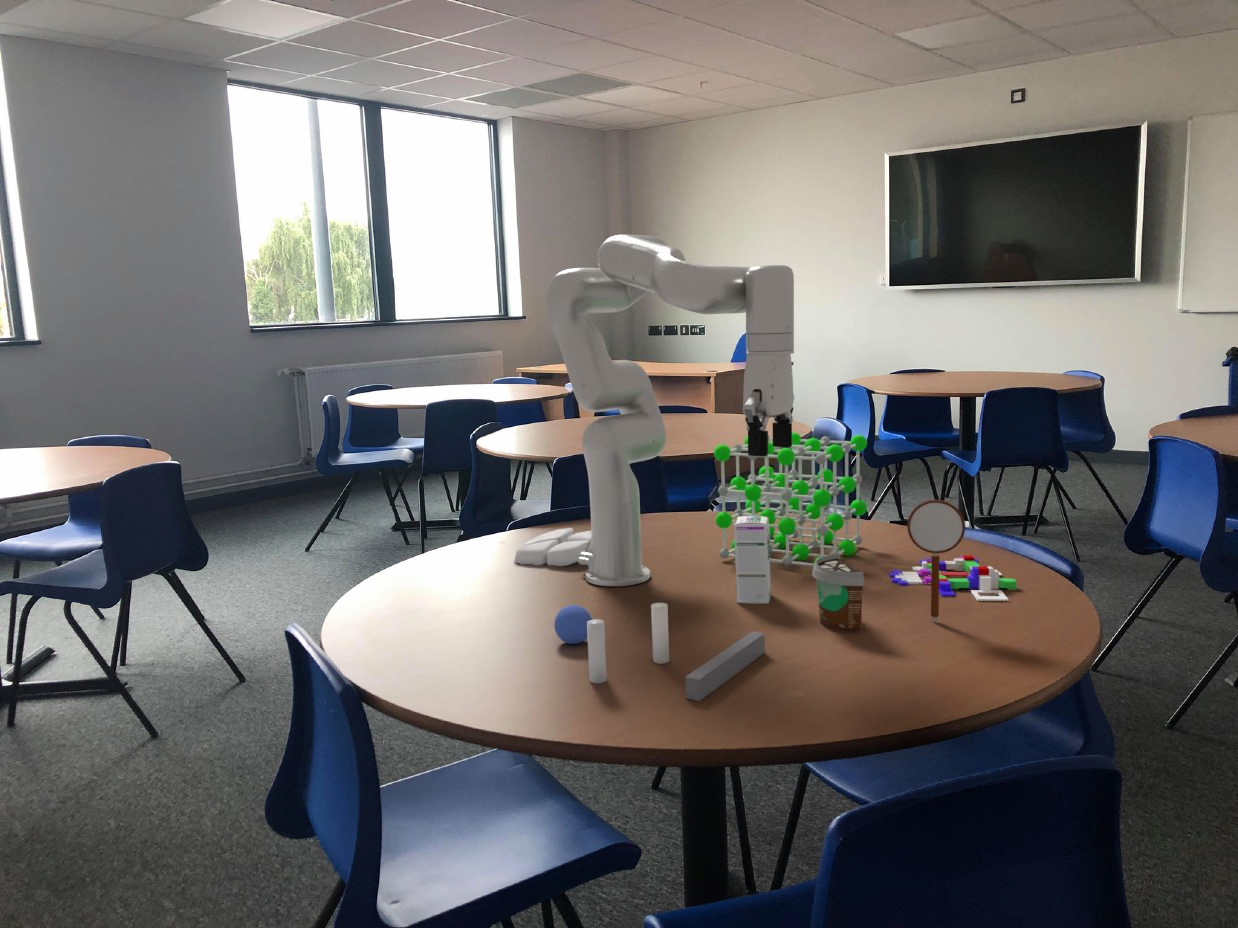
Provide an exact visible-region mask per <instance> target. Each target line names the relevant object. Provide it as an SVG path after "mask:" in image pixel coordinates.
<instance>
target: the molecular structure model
mask: <svg viewBox="0 0 1238 928" xmlns="http://www.w3.org/2000/svg"><path fill="white" fill-rule="evenodd" d="M770 441H771V442H770ZM743 442H744V443H743V444H744V445H741V444H739V443H734V444H733V445H732V448H731V449H730V447H729V446H728V445H726V444H719V445H717V446H716V447H715V449H714V450H713V456H714V458H715V459H716V460H717V461H719V462H720V469H721V471H720V473H721V474H720V475H721V476H720V477H721V485H720V486H719V487H718V489H717V492H718V494H719V495H720V496H721V503H722V504H721V505H722V507H721V509H722V511H720V512H719V513H718V514H717V515H716V516H715V524H716V526H717V527H718V528H721V529H722V543H723V544H722V545H723V547H722V548H721V549H720V550H719V552H718V553H719V557H720V558H721V559H727V558H729V557H730V558H735V538H734V539H733V541H732V542H731V549H730V550H729V549H727V528H730V527H731V525H732V524H735V521H736V520H733V519H737V517H741V516H766V517H768V521H769V549H770V554H771V553H780V554H785V555H784V556H783V557H782V559H777V558H770V563H772V562H774V563H781V564H783V565H784V566H786V567H789V566H791V565H799V566H806V567H814V564H815V563H816V560H817V559H818V558H820V557H823V556H827V555H832V554H840V555H843V556H845V557H851V556H852V555H854V554H855V552H856V550H857V546H858V545H861V543H862V542H863V538H862V536H861V533H860V529H861V528H860V525H861V523H860V522H861V519H860V518H861V516H863V515H864V514H866V512H867V509H868V505H867V503H866V502H865V501H864V500H863V499H861V497H860V496H861V493H860V492H861V491H860V490H861V489H860V487H861V486H860V485H861V484H860V483H862V482H863V477H862V475H861V474H860V473H861V471H860V470H861V468H860V465H861V464H860V462H861V461H860V458H861V457H860V452H861V451H864V450H865V449H866V448H867V446H868V440H867V438H866V437H865V436H864V435H862V434H856V435H854V436H853V437H852V438H850V441H849V440H831V439H830V437H828V436H827V435H826V436H825V435H824V436H822V437H821V439H818V438H815V437H811V438H807V439H806V438H805V439H804V438H801V436H800V434H799V433H797V432H793V431H792V446H791V447H789V448H788V447H774V446H773V437H770V435H769V434H768V455H767V456H765V457H764V456H750V455H749V454H748V436H746V437H745V439H744V441H743ZM802 443H804V444H802ZM801 444H802V445H801ZM830 444H831V445H830ZM839 444H840V445H839ZM851 449H852V450H853V451H856V455H855V456H856V459H855V460H856V473H855V474H853V476H849V452H850V451H851ZM821 450H823V451H821ZM742 451H743V453H742ZM744 452H747V453H744ZM775 453H777V454H775ZM804 455H811V456H804ZM731 456H732V457H735V468H736V471H735V475H736V477H734V478H732V479H731V481H730V486H729V487H727V486H726V483H725V480H726V477H725V476H726V475H725V462H726V461H728V460H729V459H730V457H731ZM740 457H747V458H748V460H750V474H749V475H748V477H747V480H746V479H745V478H744V477H742V476H740ZM758 458H764V465H763V466H762V467H761V468H759V471H758V475H756V474H755V460H757V459H758ZM769 458H771V459H777V461H778V463H779V465H778V467H779V468H778V469H779V470H778V471H779V472H775V470H774V468H773V467H772V466H769V463H770V462H769V461H770V460H769ZM843 458H844V469H845V470H844V476H837V462H839V461H841V460H842V459H843ZM796 460H798V471H797V470H796ZM803 460H807V461H811V474H803ZM828 460H829V461H830V462H832V470H831V469H828ZM816 463H817V464H818V465H819V472H818V473H817V475H816V465H815V464H816ZM790 465H791V470H789V466H790ZM783 466H784V473H783ZM797 478H798V480H797ZM803 478H809V480H803ZM837 480H839V481H838V482H837ZM757 481H764V483H762V485H758V484H755V483H757ZM770 482H772V483H770ZM749 483H750V484H749ZM790 484H791V487H789V485H790ZM818 486H819V489H816V488H817V487H818ZM828 486H830V487H829V488H828ZM855 489H856V499H855V500H853V501H852V502H851V503H850V505H849V493H852V492H854V490H855ZM772 490H774V491H779V493H778V492H771V491H772ZM840 492H842V493H844V494H845V495H844V504H845V505H838V503H837V500H838V499H837V498H838V497H837V496H838V495H839V493H840ZM728 493H732V494H736V509H735V510H734V511H733V512H734V513H733V514H732V515H731V514H730V513H729V512H727V511H726V495H727V494H728ZM808 493H811V495H807V494H808ZM741 494H744V496H745V498H746V499H747V500H746V502H745V509H741ZM762 496H763V497H762ZM761 497H762V498H761ZM771 497H779V500H776V499H775V500H774V499H773V500H772V499H771ZM832 498H833V499H832ZM759 499H761V502H760V500H759ZM803 499H807V500H808V499H809V500H810V499H811V503H810V502H803ZM832 500H833V501H832ZM831 501H832V502H833V504H831ZM770 504H779V506H778V507H776V508H775V507H770ZM784 505H785V506H784ZM763 506H765V507H763ZM803 506H806V507H805V510H803ZM831 508H832V509H833V513H832V512H828V511H829V510H830V509H831ZM837 509H841V510H843V509H844V510H843V512H842V513H838V512H837ZM759 512H760V513H759ZM758 513H759V514H758ZM790 513H792V516H791V517H790ZM796 514H798V515H797V516H796ZM853 515H855V516H856V535H854V536H853V537H852V538H849V530H850V529H849V528H850V527H849V526H850V525H849V521H850V520H851V519H852V517H853ZM819 518H820V519H819ZM776 520H779V521H778V524H776V523H775V522H776ZM806 522H808V523H812V527H808V526H807V527H806V526H804V524H805V523H806ZM774 523H775V524H774ZM817 523H818V524H820V525H818V526H817V528H816V524H817ZM797 524H798V526H797ZM843 527H844V529H845V533H844V534H845V536H844V537H843V538H842V537H838V534H837V533H838V531H839V530H841V529H842V528H843ZM775 528H778V531H776V529H775ZM798 530H799V531H798ZM803 531H809V532H812V534H804V532H803ZM816 532H817V535H816ZM772 537H774V539H771V538H772ZM798 537H799V542H797V541H796V542H794V541H791V539H797V538H798ZM804 538H809V539H811V538H812V539H811V540H809V542H808V543H804V541H803V539H804ZM816 539H818V540H816ZM838 541H840V543H839V545H838ZM771 543H773V545H772V544H771ZM832 543H833V545H830V544H832ZM791 545H793V546H794V547H793V548H792V550H790V546H791ZM776 548H777V549H776ZM818 548H819V549H820V553H814V552H813V553H811V552H810V550H816V549H818ZM825 549H829V550H830V549H831V551H830V552H829V554H825ZM791 555H792V556H791ZM808 557H816V558H815V559H814V561H813V563H811V562H803V561H806V560H807V559H808ZM795 560H797V561H795Z"/></svg>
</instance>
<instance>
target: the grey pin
mask: <svg viewBox="0 0 1238 928" xmlns="http://www.w3.org/2000/svg"><path fill="white" fill-rule="evenodd" d="M587 635H588V638H587V650H588V656H587V657H588V672H589V676H588V677H589V682H590V683H592V684H603V683H605V682H607V681H608V680H607V678H608V677H607V659H606V658H607V656H606V633H605V621H604V620H603V619H597V618H596V619H595V618H594V619H592V620H590V621H588V622H587Z"/></svg>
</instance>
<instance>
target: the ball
mask: <svg viewBox="0 0 1238 928" xmlns="http://www.w3.org/2000/svg"><path fill="white" fill-rule="evenodd" d="M590 620H593V619H592V616H591V614H590V612H589V611H588V610H587V609H586V608H584V607H582V606H580V605H577V604H575V605H574V604H572V605H567V606H565V607H563V608H561V609H560V610H559V612H558V613H557V615H556V616H555V618H554V631H555V633H556V635H557V637H558V638H559V639H560V640H562V642H564V643H567V644H570V645H577V644H580V643H581V644H582V643H583V642H584V641H585V640H588V635H587V622H588V621H590Z"/></svg>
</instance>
